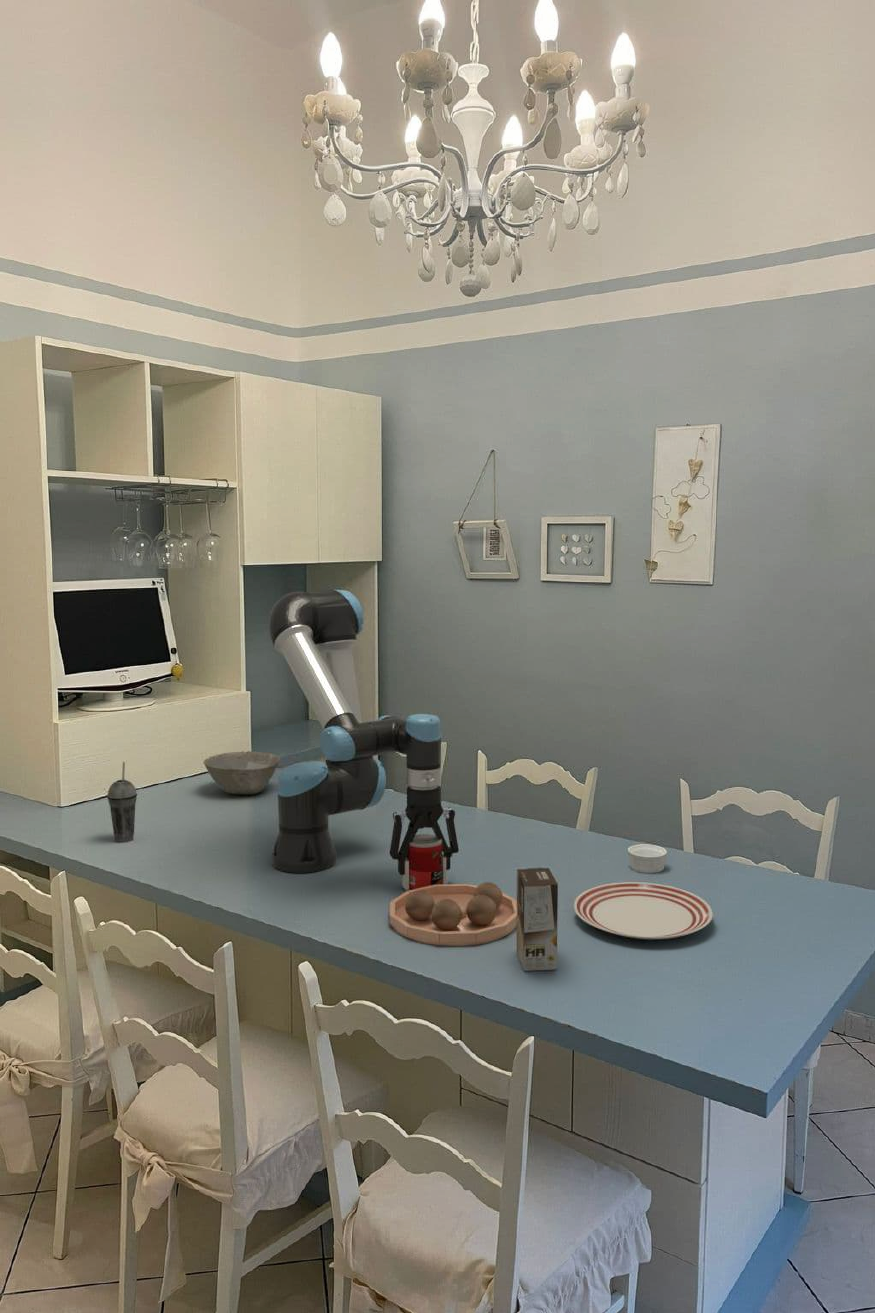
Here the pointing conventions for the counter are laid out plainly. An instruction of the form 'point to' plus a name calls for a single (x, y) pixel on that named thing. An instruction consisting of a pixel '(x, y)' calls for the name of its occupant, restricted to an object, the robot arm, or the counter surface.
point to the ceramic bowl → (242, 771)
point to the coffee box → (537, 919)
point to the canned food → (425, 861)
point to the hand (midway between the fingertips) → (424, 886)
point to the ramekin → (647, 858)
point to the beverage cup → (122, 808)
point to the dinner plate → (643, 910)
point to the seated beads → (455, 907)
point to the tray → (466, 929)
